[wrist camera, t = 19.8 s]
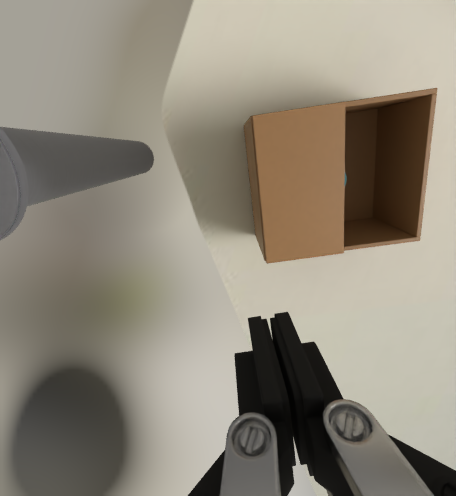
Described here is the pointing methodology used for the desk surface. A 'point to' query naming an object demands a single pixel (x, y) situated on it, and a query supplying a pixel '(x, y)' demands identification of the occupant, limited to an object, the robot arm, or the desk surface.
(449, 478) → the robot arm
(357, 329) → the desk surface
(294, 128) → the flap
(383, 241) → the carton
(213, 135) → the desk surface
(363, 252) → the desk surface
